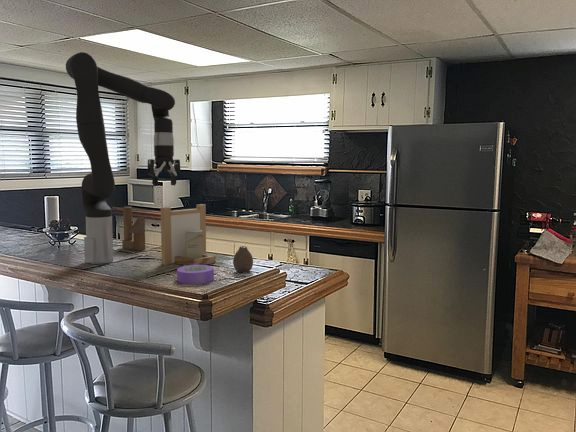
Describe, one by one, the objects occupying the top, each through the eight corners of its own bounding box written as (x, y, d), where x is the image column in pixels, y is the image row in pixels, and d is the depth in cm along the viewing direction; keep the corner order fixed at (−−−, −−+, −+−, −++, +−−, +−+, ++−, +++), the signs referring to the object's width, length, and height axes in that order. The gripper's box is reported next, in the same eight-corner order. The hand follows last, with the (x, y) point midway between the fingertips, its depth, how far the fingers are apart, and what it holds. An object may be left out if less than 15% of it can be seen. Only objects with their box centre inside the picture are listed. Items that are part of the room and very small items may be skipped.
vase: (243, 268, 177) (243, 244, 176) (257, 271, 173) (257, 246, 172) (228, 271, 172) (228, 246, 171) (243, 275, 167) (243, 249, 166)
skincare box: (186, 264, 184) (185, 231, 182) (185, 261, 188) (185, 229, 187) (203, 263, 185) (202, 231, 184) (202, 261, 190) (202, 229, 188)
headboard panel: (165, 264, 182) (164, 207, 180) (161, 263, 184) (160, 207, 181) (206, 256, 198) (206, 204, 195) (202, 256, 199) (201, 204, 197)
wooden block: (139, 250, 209) (138, 208, 207) (122, 248, 215) (120, 207, 213) (145, 249, 212) (144, 207, 210) (128, 247, 218) (127, 206, 216)
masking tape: (186, 286, 153) (186, 274, 152) (171, 278, 162) (171, 267, 161) (220, 281, 159) (220, 269, 159) (203, 274, 169) (203, 263, 168)
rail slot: (193, 267, 179) (193, 260, 178) (174, 262, 186) (174, 256, 185) (215, 262, 187) (215, 256, 187) (196, 258, 194) (196, 252, 193)
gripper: (172, 145, 203) (173, 184, 205) (142, 144, 192) (143, 186, 194) (184, 145, 198) (184, 185, 200) (154, 143, 187) (155, 186, 189)
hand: (164, 185), depth 197 cm, fingers open, 8 cm apart
